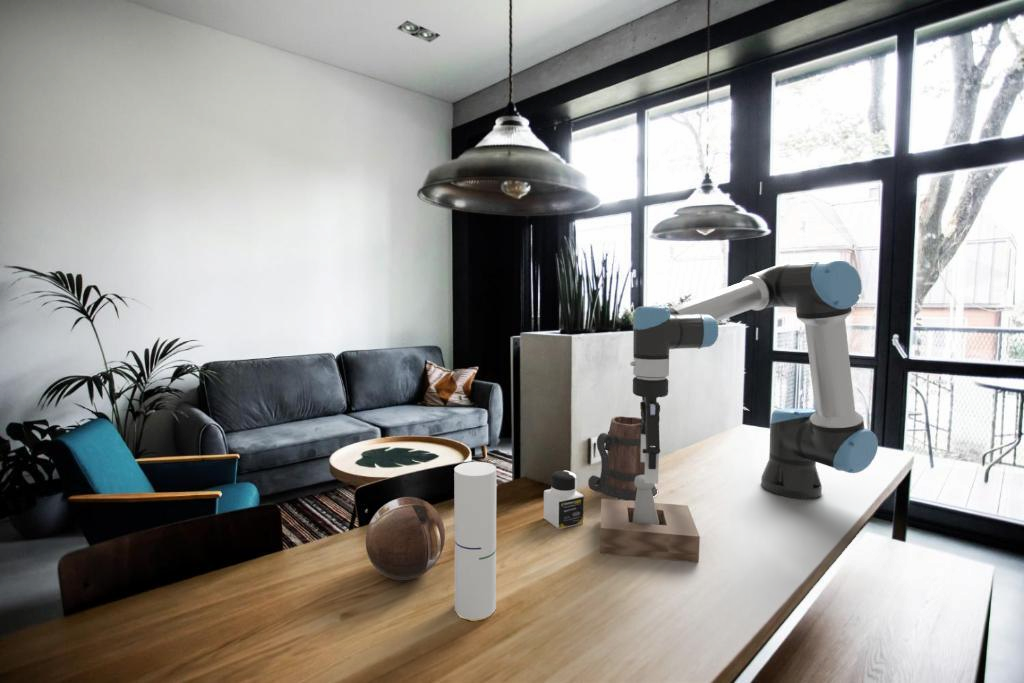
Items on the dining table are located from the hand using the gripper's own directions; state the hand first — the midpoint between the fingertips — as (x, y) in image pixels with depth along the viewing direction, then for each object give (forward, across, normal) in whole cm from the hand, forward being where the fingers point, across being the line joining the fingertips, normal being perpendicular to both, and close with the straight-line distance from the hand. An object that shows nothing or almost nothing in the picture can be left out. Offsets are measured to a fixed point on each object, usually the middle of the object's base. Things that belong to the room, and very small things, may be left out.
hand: (648, 471), depth 113 cm
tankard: (+16, -28, -5) cm, 33 cm away
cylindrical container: (+15, +32, -31) cm, 47 cm away
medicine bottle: (+16, -6, -19) cm, 26 cm away
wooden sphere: (+15, +24, -47) cm, 55 cm away
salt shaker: (+14, 0, 0) cm, 14 cm away
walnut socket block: (+16, 0, 0) cm, 16 cm away
